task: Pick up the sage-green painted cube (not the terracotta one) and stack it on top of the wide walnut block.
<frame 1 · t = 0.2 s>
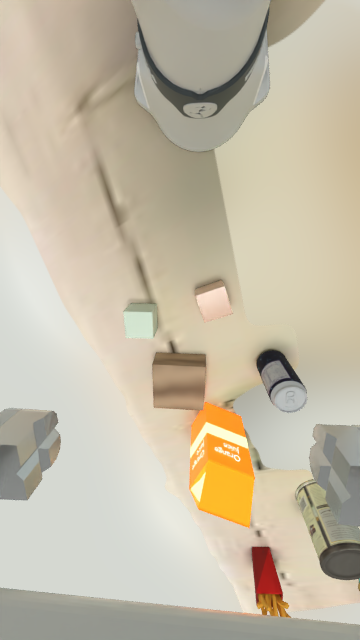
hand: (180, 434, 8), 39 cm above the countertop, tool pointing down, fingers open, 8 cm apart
orange juice: (215, 420, 56), on the countertop
sage cube: (144, 315, 48), on the countertop
walnut block: (180, 373, 52), on the countertop
beverage can: (269, 360, 50), on the countertop
french fries: (263, 549, 71), on the countertop
terracotta cube: (212, 296, 46), on the countertop
coffee can: (316, 492, 62), on the countertop
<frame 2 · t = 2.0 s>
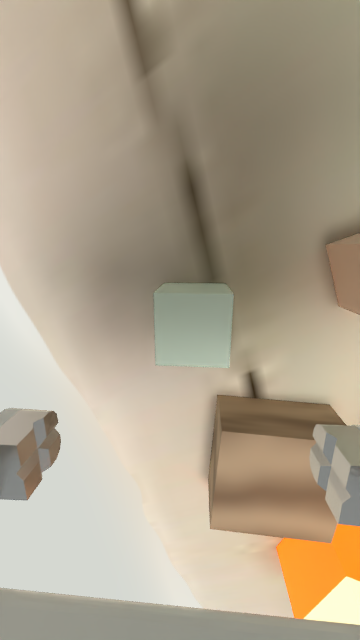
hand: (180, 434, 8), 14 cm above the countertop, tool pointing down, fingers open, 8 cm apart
orange juice: (329, 538, 27), on the countertop
sage cube: (194, 312, 21), on the countertop
walnut block: (263, 442, 24), on the countertop
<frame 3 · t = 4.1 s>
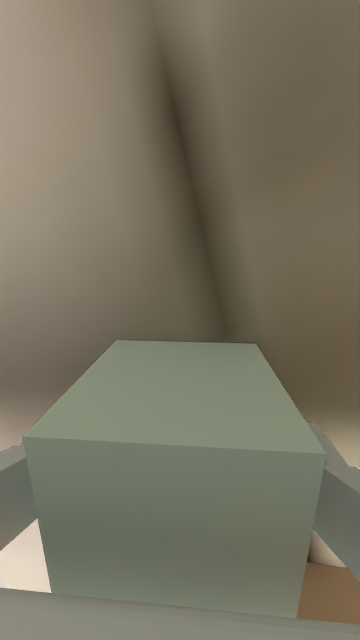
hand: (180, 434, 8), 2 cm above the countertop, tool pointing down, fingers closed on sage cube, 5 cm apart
sage cube: (184, 403, 10), on the countertop, touching gripper
walnut block: (319, 630, 13), on the countertop
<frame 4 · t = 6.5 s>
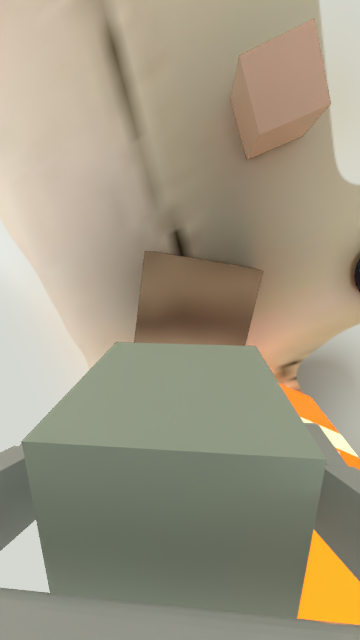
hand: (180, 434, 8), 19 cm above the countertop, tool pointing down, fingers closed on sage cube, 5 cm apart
orange juice: (260, 407, 29), on the countertop
sage cube: (184, 405, 9), point 18 cm above the countertop, touching gripper
walnut block: (194, 306, 27), on the countertop
terracotta cube: (266, 118, 22), on the countertop
when the fingers open (8 cm above the countertop, at t = 9.4 s): sage cube drops 1 cm, point 5 cm above the countertop.
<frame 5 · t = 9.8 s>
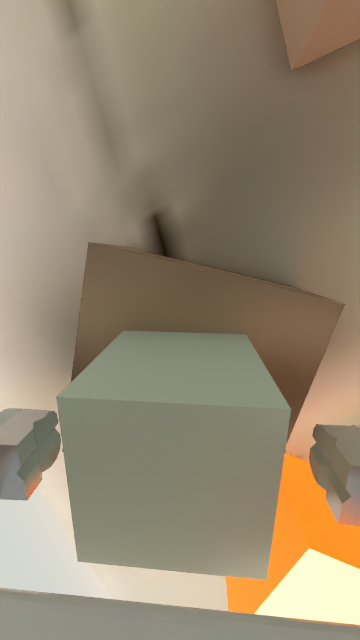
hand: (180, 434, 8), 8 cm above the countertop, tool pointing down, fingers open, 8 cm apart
orange juice: (298, 506, 18), on the countertop
sage cube: (183, 387, 11), point 5 cm above the countertop
walnut block: (189, 346, 16), on the countertop
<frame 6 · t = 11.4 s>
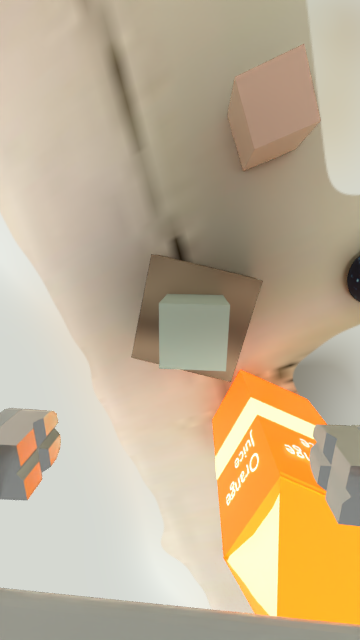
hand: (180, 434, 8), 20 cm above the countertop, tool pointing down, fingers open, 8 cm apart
orange juice: (258, 409, 30), on the countertop
sage cube: (194, 321, 23), point 5 cm above the countertop
walnut block: (194, 310, 28), on the countertop
terracotta cube: (261, 132, 23), on the countertop
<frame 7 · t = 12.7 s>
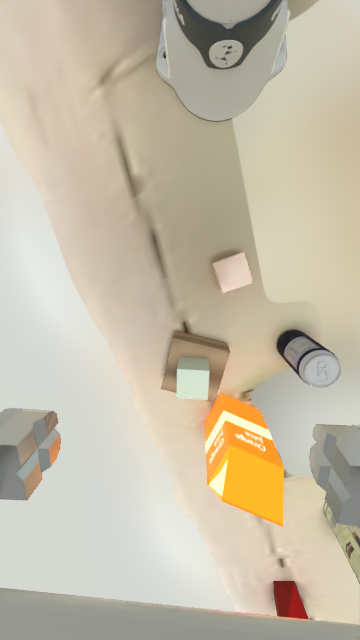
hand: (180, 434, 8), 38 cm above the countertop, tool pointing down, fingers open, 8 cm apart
orange juice: (231, 415, 51), on the countertop
sage cube: (193, 370, 44), point 5 cm above the countertop, touching walnut block
walnut block: (194, 359, 48), on the countertop, touching sage cube
beverage can: (290, 343, 46), on the countertop
french fries: (288, 585, 60), on the countertop
terracotta cube: (229, 271, 44), on the countertop
coffee can: (347, 506, 54), on the countertop
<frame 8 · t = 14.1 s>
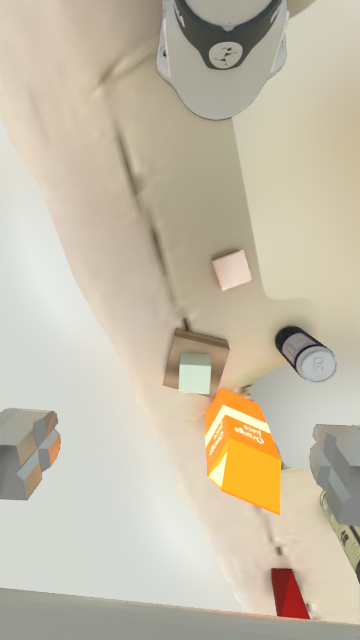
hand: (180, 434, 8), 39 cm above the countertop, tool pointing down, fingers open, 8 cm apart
orange juice: (231, 410, 52), on the countertop
sage cube: (195, 365, 45), point 5 cm above the countertop, touching walnut block
walnut block: (195, 356, 50), on the countertop, touching sage cube
beverage can: (289, 339, 47), on the countertop
french fries: (285, 572, 62), on the countertop
terracotta cube: (229, 269, 45), on the countertop
coffee can: (343, 497, 55), on the countertop
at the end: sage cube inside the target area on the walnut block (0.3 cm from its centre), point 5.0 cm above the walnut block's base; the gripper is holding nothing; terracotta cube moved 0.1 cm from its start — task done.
